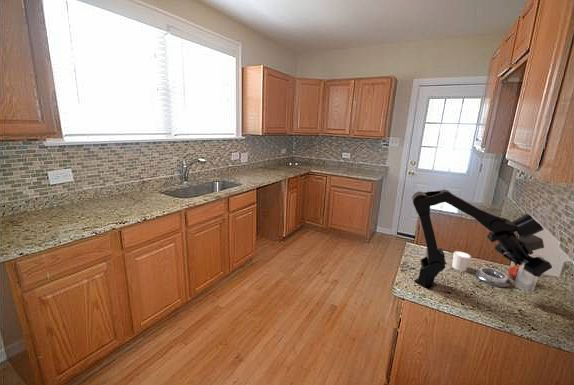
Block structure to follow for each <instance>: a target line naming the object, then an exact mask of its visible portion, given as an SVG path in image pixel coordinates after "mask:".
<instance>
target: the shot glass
mask: <svg viewBox="0 0 574 385" xmlns="http://www.w3.org/2000/svg"><path fill="white" fill-rule="evenodd" d="M471 258H472V255H471V254H469V253H467V252H465V251H464V252H463V251H460V250H459V251H457V250H455V251H453V256H452V264H451V266H452V268H453V269H455V270H457V271H460V272H466V271H467V270H468V267H469V264H470V262H471V260H472V259H471Z"/></svg>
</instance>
